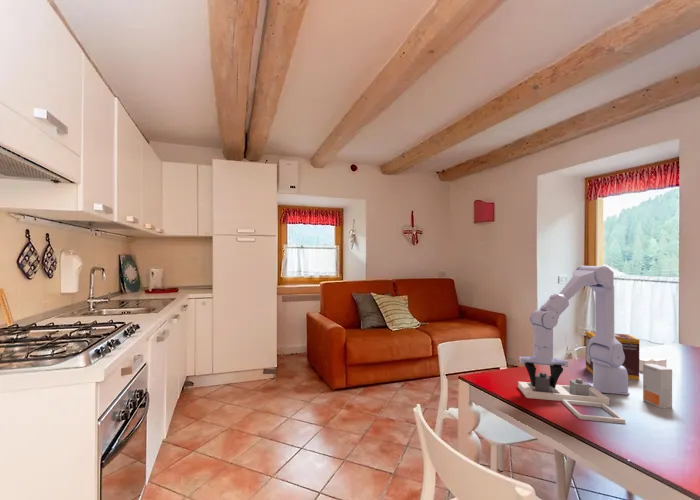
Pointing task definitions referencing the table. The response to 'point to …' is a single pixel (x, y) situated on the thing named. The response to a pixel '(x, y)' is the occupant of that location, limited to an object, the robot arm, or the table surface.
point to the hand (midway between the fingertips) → (543, 386)
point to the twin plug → (579, 387)
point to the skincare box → (657, 385)
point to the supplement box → (630, 352)
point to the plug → (542, 383)
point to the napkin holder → (652, 362)
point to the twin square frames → (562, 394)
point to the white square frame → (597, 418)
